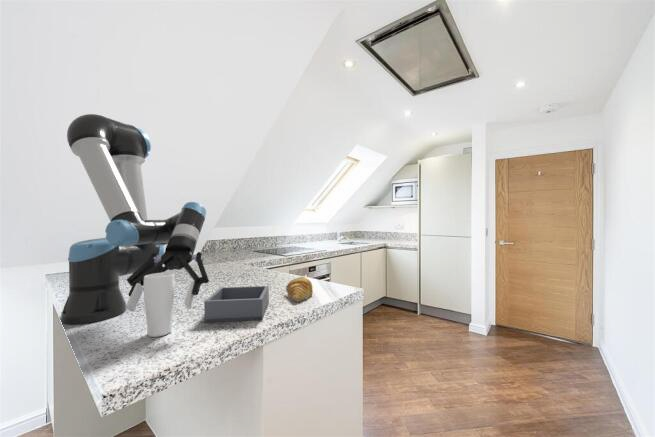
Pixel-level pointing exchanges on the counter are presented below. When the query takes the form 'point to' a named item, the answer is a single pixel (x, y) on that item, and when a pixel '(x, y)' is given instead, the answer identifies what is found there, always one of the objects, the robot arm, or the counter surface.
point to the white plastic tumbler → (159, 303)
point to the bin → (237, 304)
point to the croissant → (299, 288)
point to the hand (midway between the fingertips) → (158, 307)
